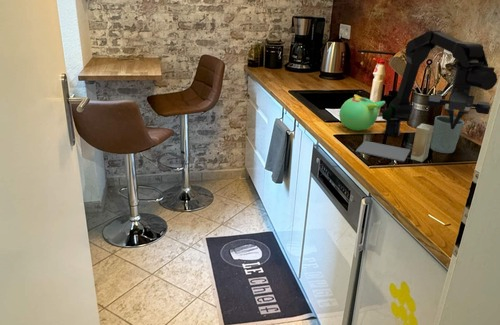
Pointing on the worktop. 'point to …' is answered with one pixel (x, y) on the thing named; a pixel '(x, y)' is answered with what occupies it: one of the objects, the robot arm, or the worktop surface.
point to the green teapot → (359, 113)
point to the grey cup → (445, 134)
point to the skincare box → (422, 142)
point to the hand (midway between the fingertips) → (452, 128)
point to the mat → (383, 151)
